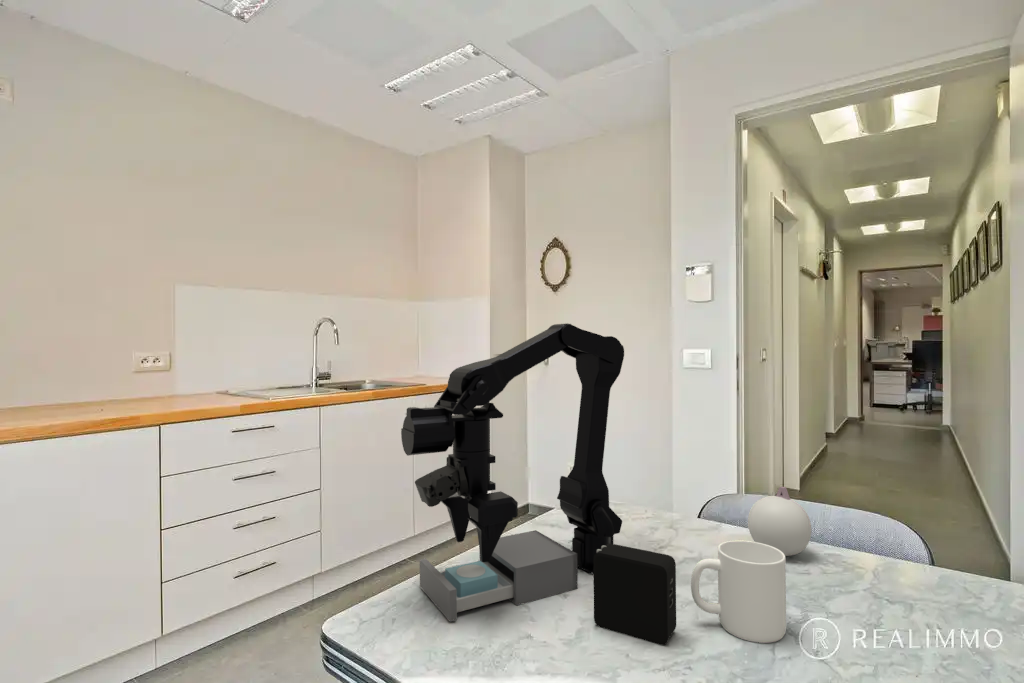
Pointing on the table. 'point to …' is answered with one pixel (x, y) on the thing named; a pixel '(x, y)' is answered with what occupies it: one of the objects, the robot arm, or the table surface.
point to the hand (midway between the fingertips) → (472, 551)
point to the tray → (447, 593)
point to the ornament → (780, 523)
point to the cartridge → (471, 578)
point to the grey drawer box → (535, 566)
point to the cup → (747, 590)
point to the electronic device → (635, 592)
